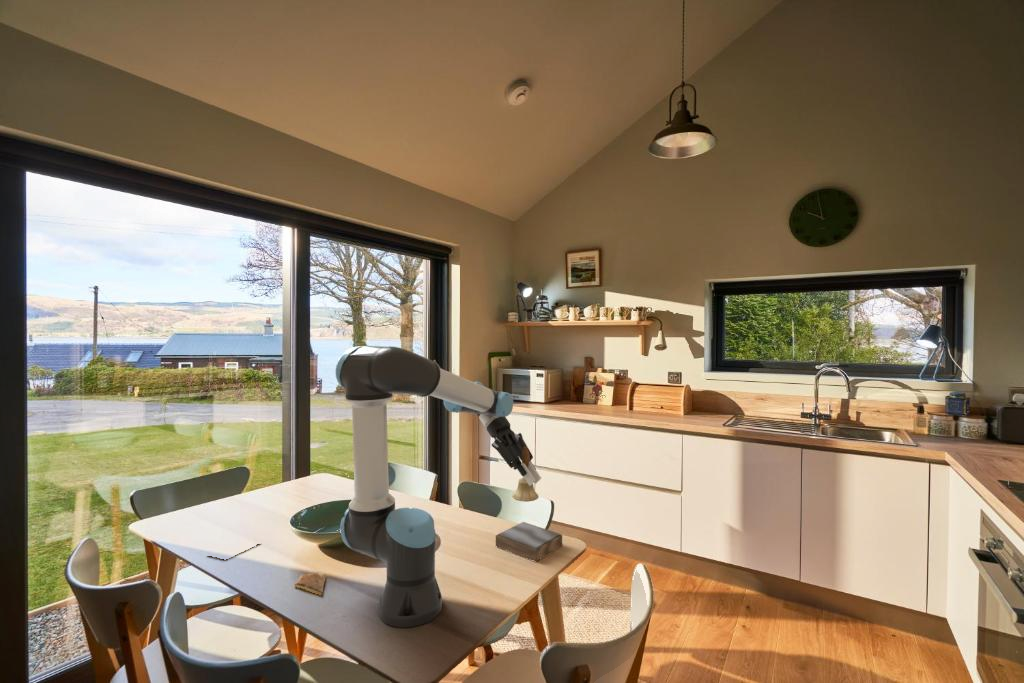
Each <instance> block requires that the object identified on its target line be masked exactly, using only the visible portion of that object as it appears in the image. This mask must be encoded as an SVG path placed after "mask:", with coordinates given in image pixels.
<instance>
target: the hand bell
mask: <svg viewBox="0 0 1024 683" xmlns="http://www.w3.org/2000/svg"><path fill="white" fill-rule="evenodd" d="M528 449H529V447H528V446H527V447H523V451H522V456H521V458H522V461H521V463H522V464H523V463H524V464H525V465H526V467H527V468H528V465H529V460H530V455H529V451H528ZM522 464H521V465H522ZM539 496H540V495H539V494H538V493H537V492H536V490H535V488H534V483H533V484H532V485H531V486H529V485H528V483H527V482H526V480H525V478H524V477H523V476H522V478H520V479H519V480H518V484H517V488H516V490H515V492H513V494H512V496H511V497H512V498H513V499H514V501H518V502H524V503H525V502H526V503H527V502H528V503H529V502H533V501H536V500H538V499H539Z"/></svg>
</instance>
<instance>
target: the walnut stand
mask: <svg viewBox="0 0 1024 683" xmlns="http://www.w3.org/2000/svg"><path fill="white" fill-rule="evenodd" d="M496 546H497V547H496ZM495 547H496V548H498V547H500V548H502V549H501V550H503V549H505V550H507V551H506V552H508V551H509V552H508V553H510V552H512V553H511V554H513V553H514V555H516V556H518V555H519V557H521V556H522V557H521V558H523V557H525V558H524V559H526V558H528V559H527V560H529V559H531V560H534V561H537V560H539V559H540V558H542V557H544V556H545V557H547V556H549V555H550V554H551V552H552V553H554V552H555V551H557V550H558V549H560V548H561V547H563V534H561V533H559V532H555V531H553V530H549V529H547V528H544V527H540V526H538V525H537V526H536V525H534V524H532V523H531V524H530V523H529V522H528V523H527V522H525V521H522V522H519V523H518V524H516V525H514V526H511V527H510V528H507V529H506V530H504V531H502V532H499V533H498V534H496V535H495ZM500 548H499V549H500ZM505 550H504V551H505ZM553 551H554V552H553ZM549 553H550V554H549ZM548 554H549V555H548ZM546 555H547V556H546ZM545 557H544V558H545ZM542 559H543V558H542ZM531 560H530V561H531ZM540 560H541V559H540ZM540 560H539V561H540ZM534 561H533V562H534ZM537 562H538V561H537Z"/></svg>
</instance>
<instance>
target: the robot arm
mask: <svg viewBox="0 0 1024 683" xmlns="http://www.w3.org/2000/svg"><path fill="white" fill-rule="evenodd" d="M335 378H336V381H337V383H338V384H339V385H340V387H341V388H343V389H345V401H347V402H348V403H349V404H350V405H351V408H352V410H351V411H352V412H351V413H352V442H353V443H352V445H353V447H352V449H353V483H354V486H353V487H354V497H353V498H352V499H351V501H350V502H349V503H348V508H347V509H346V510H345V511H344V516H343V517H342V518H341V520H340V525H339V526H340V527H339V530H340V533H341V537H342V539H341V540H342V541H343V543H344V545H346V547H348V548H349V549H351V550H352V551H354V552H357V553H358V554H362V555H365V556H368V557H371V558H373V559H376V560H379V561H380V562H381V561H382V562H383V563H385V565H386V580H385V584H384V588H383V591H382V592H383V593H382V595H381V598H380V600H379V604H378V605H379V606H378V608H379V609H378V610H379V611H378V614H379V615H378V616H379V618H380V619H381V621H382V622H383V623H385V624H386V625H389V626H391V627H396V628H414V627H418V626H421V625H424V624H426V623H429V622H431V621H432V620H434V619H436V617H438V615H439V614H440V613H441V611H442V608H443V597H442V592H441V589H440V586H439V584H438V581H437V577H436V572H435V571H436V568H435V567H436V529H435V521H434V518H433V517H432V515H431V514H430V513H429V512H427V511H426V510H424V509H420V508H416V507H412V508H411V507H400V508H397V509H396V498H395V497H394V496H393V495H392V494H391V493H390V491H389V490H390V488H389V486H390V485H389V482H390V480H389V453H388V452H389V449H388V448H389V447H388V445H389V444H388V441H389V440H388V412H387V411H388V406H387V405H388V403H389V401H391V399H393V394H396V395H397V394H401V395H403V394H404V395H412V396H413V395H414V396H417V397H421V398H427V397H429V396H431V397H434V398H436V399H439V400H443V406H444V407H445V409H446V410H447V411H448V412H450V413H456V414H457V413H458V414H459V413H466V414H467V413H469V414H473V415H475V414H476V416H477V417H478V419H479V421H481V424H482V425H483V427H484V428H486V431H487V433H488V434H489V436H490V437H491V438H492V439H494V440H493V442H492V443H491V447H492V448H493V449H495V450H496V452H498V454H499V455H500V456H501V458H502V459H503V460H504V461H505V462H506V464H507V465H508V466H509V468H511V469H513V470H515V471H516V470H517V471H518V473H519V475H520V476H522V478H523V477H524V478H525V480H526V482H527V483H528V485H529V486H531V485H532V484H533V485H534V484H537V483H538V482H539V481H540V480H542V477H541V475H540V474H539V472H538V471H537V469H536V467H535V466H534V464H533V462H532V460H533V458H534V456H533V454H532V452H531V450H530V448H528V451H529V455H530V460H529V465H528V468H527V467H526V465H525V464H524V463H523V464H522V458H521V456H522V451H523V447H528V445H527V443H526V442H525V440H524V437H523V435H522V433H521V432H519V433H515V431H513V430H512V429H511V422H510V421H509V419H508V418H507V417H508V416H509V415H511V413H512V411H513V408H514V399H513V396H512V395H511V394H510V393H509V392H505V391H497V390H494V389H492V388H489V387H486V386H484V384H483V382H481V381H471V380H469V379H468V378H465V377H463V376H460V375H458V374H455V373H452V372H450V371H447V370H446V369H443V368H441V366H440V365H439V364H438V363H437V362H436V361H434V360H431V359H430V358H427V357H424V356H422V355H420V354H418V353H415V352H412V351H410V350H407V349H405V348H401V347H397V346H379V345H378V346H377V345H376V346H375V345H359V346H353V347H351V348H348V349H347V350H346V351H344V352H343V354H342V355H341V356H340V357H339V358H338V360H337V362H336V366H335Z"/></svg>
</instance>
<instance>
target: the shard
mask: <svg viewBox="0 0 1024 683" xmlns="http://www.w3.org/2000/svg"><path fill="white" fill-rule="evenodd" d="M325 581H326V573H323V572H314V573H313V572H312V573H307V574H306V573H305V574H301V575H300V576H299V578H298V580H297V582H296V583H295V584H294V588H295V587H297V588H296V589H300V588H301V590H304V589H305V590H304V591H306V590H307V591H306V592H308V591H310V592H309V593H311V592H312V593H311V594H313V593H315V594H314V595H316V594H319V595H318V596H321V595H322V596H323V594H324V593H323V592H324V591H323V590H324V586H325Z"/></svg>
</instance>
